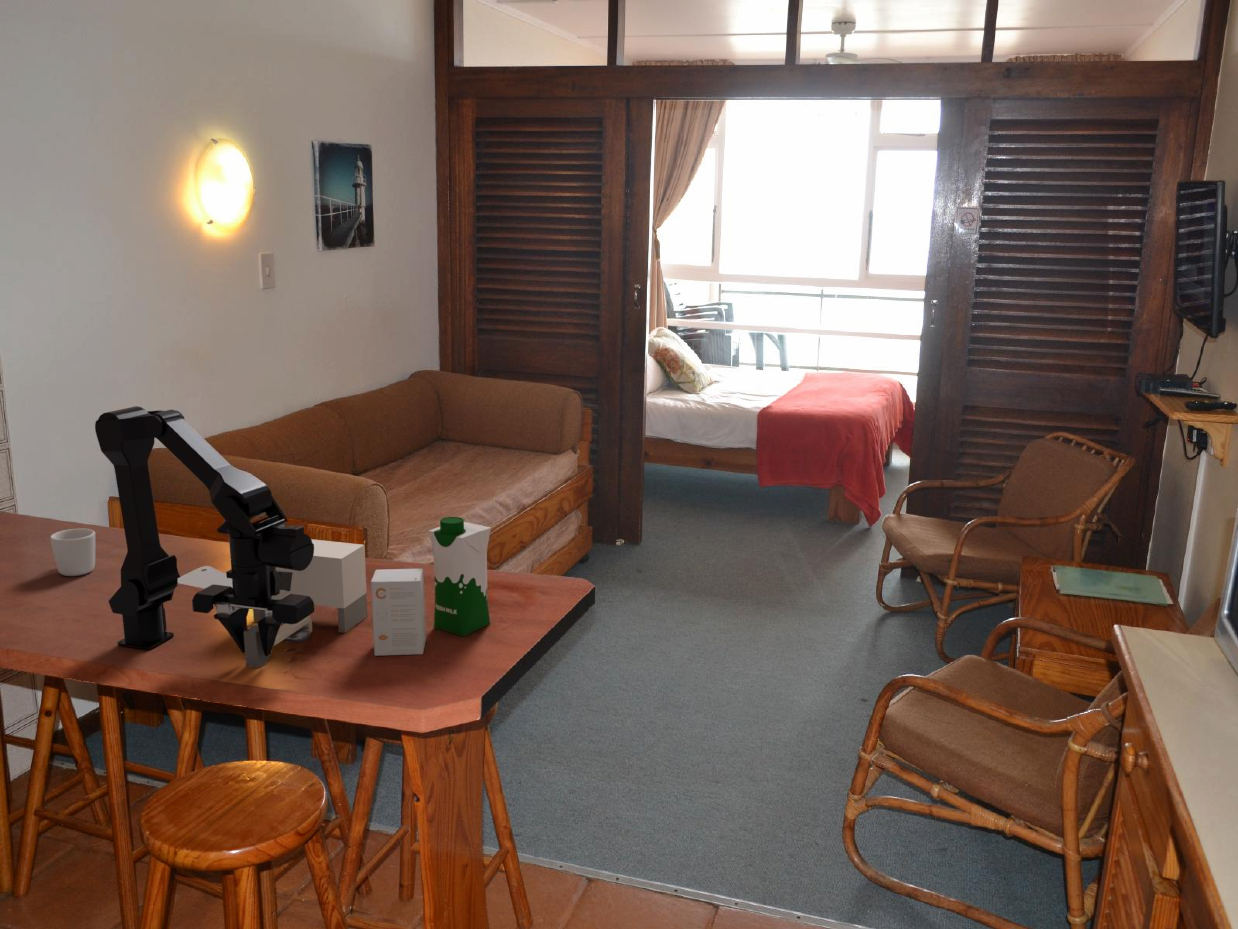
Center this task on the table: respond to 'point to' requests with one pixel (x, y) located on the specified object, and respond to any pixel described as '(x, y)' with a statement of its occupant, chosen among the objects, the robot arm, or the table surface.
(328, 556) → the cabinet
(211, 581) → the kitchen cleaver
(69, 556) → the cup
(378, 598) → the small box
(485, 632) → the table surface
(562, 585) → the table surface
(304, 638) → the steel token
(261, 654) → the grey mallet
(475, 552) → the milk carton
